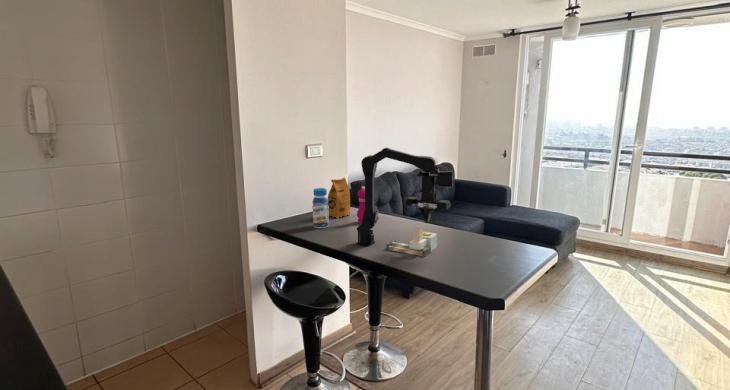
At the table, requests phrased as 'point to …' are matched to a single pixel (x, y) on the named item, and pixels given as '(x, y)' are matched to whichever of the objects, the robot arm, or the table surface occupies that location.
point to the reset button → (426, 234)
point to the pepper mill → (361, 204)
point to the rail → (407, 249)
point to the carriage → (418, 239)
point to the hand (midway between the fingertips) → (427, 222)
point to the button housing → (431, 241)
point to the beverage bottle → (320, 208)
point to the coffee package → (339, 198)
